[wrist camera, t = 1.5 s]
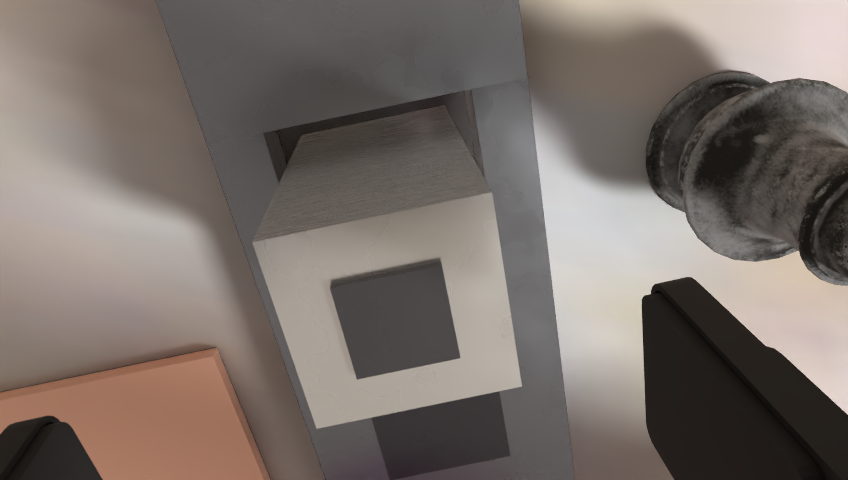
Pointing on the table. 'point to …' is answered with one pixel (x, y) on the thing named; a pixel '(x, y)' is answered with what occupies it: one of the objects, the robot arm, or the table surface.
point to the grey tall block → (388, 269)
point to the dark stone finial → (758, 168)
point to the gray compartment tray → (367, 90)
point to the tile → (150, 419)
